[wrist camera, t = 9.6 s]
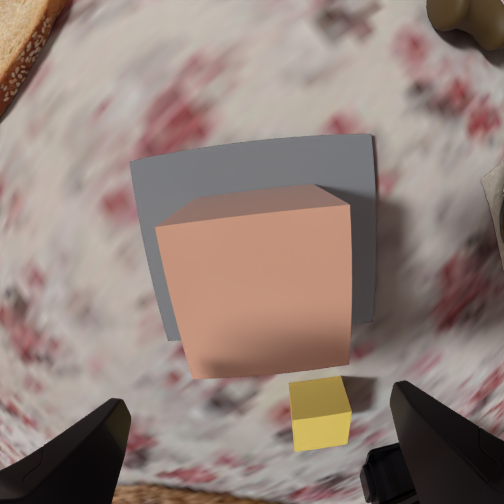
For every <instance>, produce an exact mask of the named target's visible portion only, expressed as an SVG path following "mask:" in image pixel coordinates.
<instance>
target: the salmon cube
mask: <svg viewBox="0 0 504 504" xmlns="http://www.w3.org/2000/svg"><path fill="white" fill-rule="evenodd" d="M155 230H156V235H157V240H158V245H159V250H160V255H161V259H162V264H163V268H164V273H165V277H166V281H167V286H168V290H169V294H170V298H171V302H172V306H173V310H174V314H175V318H176V322H177V325H178V329H179V333H180V336H181V340H182V344H183V347H184V351H185V354H186V358H187V361H188V364H189V368H190V371H191V374H192V378H193V379H209V378H231V377H247V376H260V375H272V374H282V373H291V372H300V371H308V370H315V369H322V368H329V367H336V366H342V365H348V364H349V357H350V339H351V311H352V245H351V217H350V204H348V203H346V202H344V201H343V200H341V199H339V198H337V197H336V196H334V195H332V194H330V193H328V192H327V191H325V190H323V189H321V188H319V187H318V186H316V185H314V184H309V185H298V186H288V187H278V188H269V189H260V190H251V191H243V192H235V193H227V194H219V195H212V196H205V197H198V198H195V199H193V200H192V201H191V202H189V203H188V204H186V205H185V206H183V207H182V208H181V209H179V210H178V211H176V212H175V213H174V214H172V215H171V216H170V217H168V218H167V219H165V220H164V221H163V222H161V223H160V224H159V225H157V226H156V227H155Z"/></svg>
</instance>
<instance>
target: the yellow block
mask: <svg viewBox="0 0 504 504" xmlns="http://www.w3.org/2000/svg"><path fill="white" fill-rule="evenodd" d="M289 393H290V406H291V419H292V429H293V440H294V451H295V452H296V451H305V450H313V449H320V448H326V447H333V446H338V445H344V444H347V442H348V435H349V429H350V422H351V414H352V410H351V407H350V404H349V401H348V397H347V394H346V391H345V388H344V385H343V382H342V379H341V376H336V377H329V378H323V379H316V380H308V381H300V382H292V383H289Z"/></svg>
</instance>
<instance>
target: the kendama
mask: <svg viewBox="0 0 504 504" xmlns="http://www.w3.org/2000/svg"><path fill="white" fill-rule="evenodd" d="M426 8H427V14H428V18H429V20H430V22H431V24H432V26H433V28H435V29H437V30H440V31H442V32H446V31H450V30H453V29H455V28H456V29H460V30H463V31H465V32H467V33H468V34H470V35H472V36H473V37H474V38H475V39H476V41H477V43H478V44H479V46H480V47H482V48H484V49H485V50H487V51H494V50H497V49H499V48H502V49H504V4H503V3H502V2H501V0H427V5H426Z"/></svg>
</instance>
